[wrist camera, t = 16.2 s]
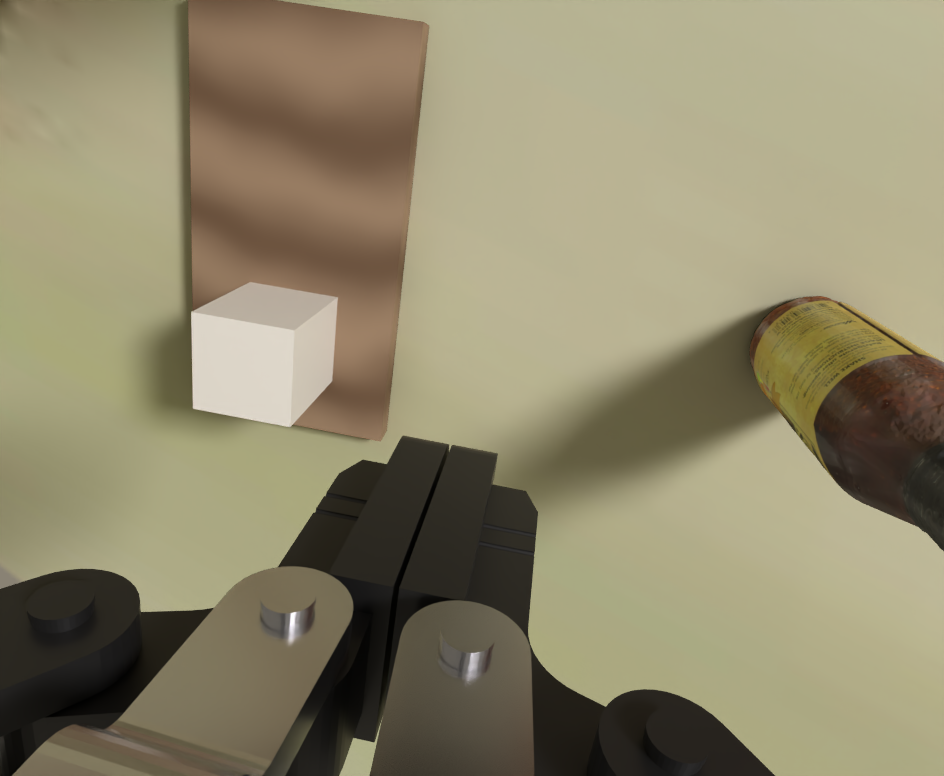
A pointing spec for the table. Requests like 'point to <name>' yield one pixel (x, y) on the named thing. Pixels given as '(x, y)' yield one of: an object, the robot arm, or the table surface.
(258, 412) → the white rectangular block
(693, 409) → the table surface
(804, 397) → the sauce bottle
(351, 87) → the board
